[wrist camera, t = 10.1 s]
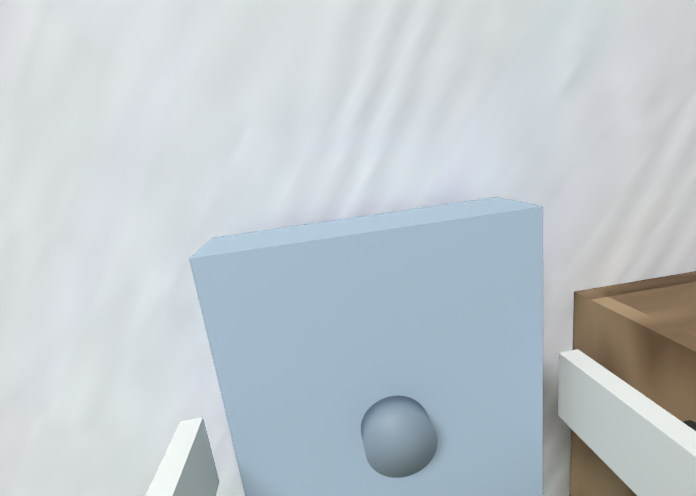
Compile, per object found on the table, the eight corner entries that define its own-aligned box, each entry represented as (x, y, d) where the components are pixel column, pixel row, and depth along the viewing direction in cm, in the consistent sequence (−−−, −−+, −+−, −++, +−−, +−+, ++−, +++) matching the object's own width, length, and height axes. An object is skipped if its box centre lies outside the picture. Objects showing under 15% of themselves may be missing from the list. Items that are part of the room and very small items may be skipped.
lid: (218, 232, 15) (178, 268, 10) (484, 194, 16) (564, 210, 11) (278, 512, 18) (269, 639, 14) (494, 468, 19) (558, 572, 14)
